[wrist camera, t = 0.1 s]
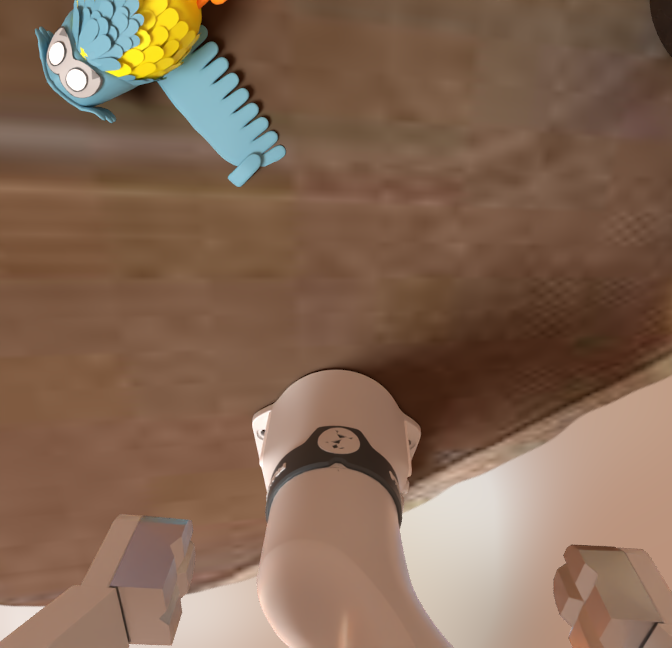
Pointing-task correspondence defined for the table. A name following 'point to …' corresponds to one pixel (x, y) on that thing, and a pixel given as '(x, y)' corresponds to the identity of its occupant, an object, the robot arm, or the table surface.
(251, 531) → the table surface
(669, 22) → the trolley
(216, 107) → the owl figurine
